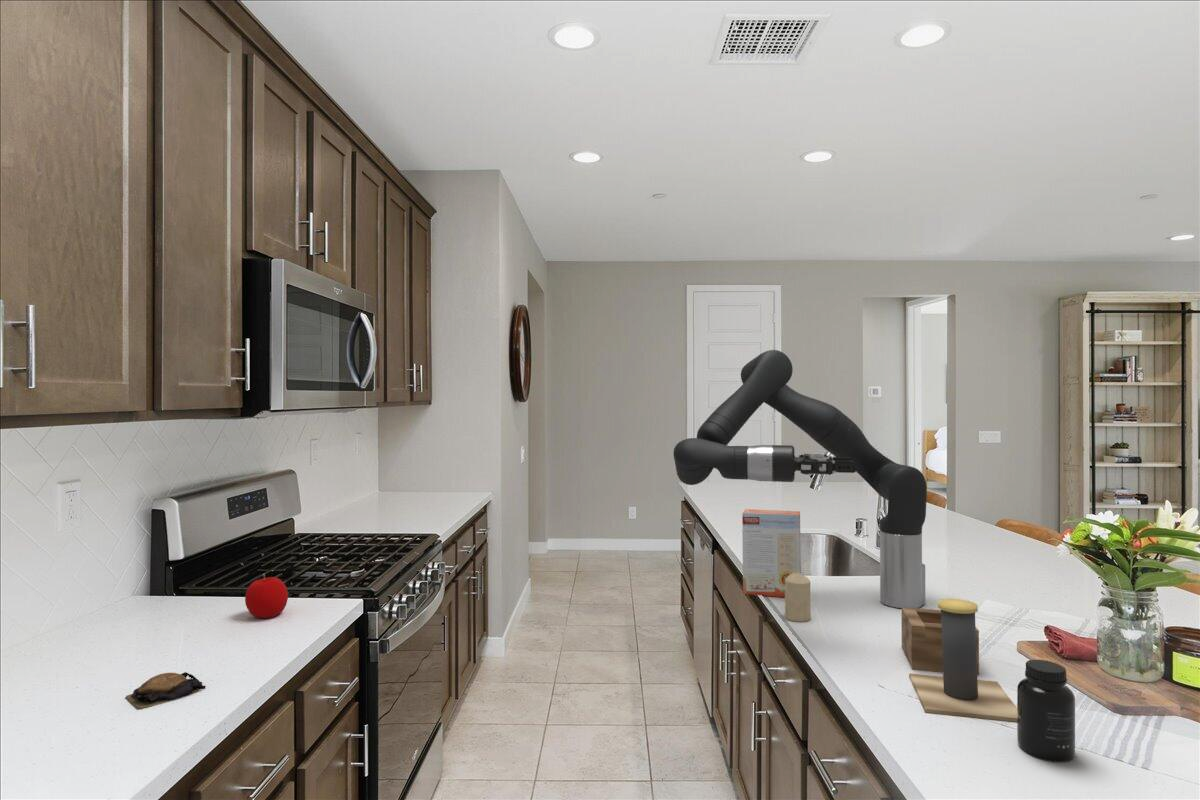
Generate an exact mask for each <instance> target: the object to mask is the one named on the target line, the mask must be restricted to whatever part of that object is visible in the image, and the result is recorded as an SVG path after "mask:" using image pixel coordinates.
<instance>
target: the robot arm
mask: <svg viewBox="0 0 1200 800" xmlns="http://www.w3.org/2000/svg"><path fill="white" fill-rule="evenodd" d="M792 375H793V363H792V361H791V360H790V358H789V357H788V355H787V354H785V353H784V352H782V351H780V350H777V349H770V350H769V349H768V350H765V351H764V352H762V353H760V354H759V355H757V356H756V357H754V358H752V359H751V360H750V361H749V362H747V363H746V364H745V365H743V367H742V368H741V371H740V380H741V383H742V385H740V387H739V388H738V389H737V390H736V391H734V393H732V394H731V395H730V396H729V397H728V398H727V399H725V400H724V401H723V402H722V403H721V404H720V405H719V406H718V407H716V409H714V411H713V412H712V413H711V414H710V415H709V416H708V417H707V419H705V421H704V422H703V423H702V424H701V426H699V428H698V430H697V432H696V437H691V438H690V437H689V438H685V439H682V440H680V441H679V442H678V443H677V444H676V445H674V448H673V460H674V464H675V472H676V475H677V478H678V479H679V480H680V481H681V483H682V484H685V485H689V486H695V485H699V484H700V483H701V484H702V482H705V480H706V479H708V477H709V476H710V475H711V473H712V472H713V470H714V469H715V470H717V471H718V472H719V473H720V475H721V477H723V478H724V479H727V480H746V481H747V480H749V481H756V482H777V483H778V482H779V483H783V482H784V483H785V482H786V483H793V482H794V481H795V478H796V477H795V475H796V472H800V474H802V475H809V476H810V475H818V476H819V475H821V476H822V475H827V476H831V475H833V474H836V473H844V474H846V473H847V474H854V473H857V474H858V475H859V476H860V477H861V478H862V479H863V480H864V481H865V482H866V483H867V484H868V485H869V486H870V487H871V488H872V489H873V490H874V491H875V492H876V493H877V494H878V495H879V496H880V497H881V498H883V499H884V500H887V501H888V504H887V513H886V515H885V516H884V517H882V518H881V519H880V521H879V575H880V576H879V593H880V594H879V599H880V600H879V601H880V602H881V604H883V605H886V606H888V607H891V608H898V609H902V607H906V608H921V607H922V606H923V605H926V564H925V563H923V526H924V523H925V521H926V515H927V496H928V490H927V489H928V488H927V487H928V486H927V482H926V481H927V480H926V478H925V476H924V474H923V473H922V471H921V470H919V469H918V468H917V467H914V466H910V465H905V464H900V463H897V462H895V461H893V460H892V459H890V458H888V456H885V455H884V454H883V453H881V452H880V451H878V450H877V448H875V447H874V446H872V444H871V443H870V441H869V440H868V438H867V437H866V436H865V434H864V433H863V431H862V430H861V428H860V427H859V426H858V425H857V424H856V423H855V422H854V421H853V420H852V419H851V418H850V417H848V415H846V414H845V413H843V412H842V411H841V410H840V409H838V408H837V407H835V406H834V405H832V404H829V403H827V402H825V401H822V400H820V399H816V398H813V397H810V396H807V395H805V394H802V393H800V392H798V391H796V390H794V389H793V388H792V387H790V386H789V385H788V383H789V381H790V380H791V378H792ZM763 404H765V405H768V406H769V407H770V408H772V409H774V410H775V411H777V412H778V413H780V414H781V415H782V416H783V417H785V418H786V419H788V420H789V421H790V422H791V423H792V424H793V425H795V426H796V427H797V428H799V429H800V430H802V431H803V432H804V433H806V435H808V436H809V437H810V438H811V439H812V440H813V441H814V442H816V443H817V444H819V445H820V446H821V447H822V448H823V449H824V450H826V451H827V452H828V453H830V454H831V455H827V454H819V453H817V454H814V453H803V454H800V455H798V456H796V455H795V447H794V446H793V445H790V444H787V445H784V444H783V445H779V444H776V445H775V444H770V445H769V444H757V445H729V444H730V443H731V441H732V440H733V439H734V437H736V435H737V434H738V433H739V431H740V430H741V429H742V427H744V425H745V424H746V423H747V421H748V420H749V419H750V418H751V417H752V416H753V415H754V413H755V412H756V411H757V410H758V409H759V408H760V407H761V406H762V405H763ZM832 455H833V456H832Z"/></svg>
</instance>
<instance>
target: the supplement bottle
mask: <svg viewBox="0 0 1200 800" xmlns="http://www.w3.org/2000/svg"><path fill="white" fill-rule="evenodd" d="M1024 677H1026V678H1022V679H1021V680H1020V681H1019V682H1018V684H1017V688H1016V689H1017V690H1016V692H1017V693H1016V694H1017V697H1016V698H1017V699H1016V701H1017V703H1016V707H1017V722H1016V723H1017V724H1016V725H1017V727H1016V730H1017V733H1016V734H1017V736H1016V737H1017V743H1018V745H1019V747H1020V748H1021V749H1022V750H1023V751H1025V753H1028V754H1029V755H1031V756H1033V757H1035V758H1038V759H1039V760H1040V759H1041V760H1045V761H1048V762H1056V763H1061V762H1062V763H1063V762H1068V761H1071V760H1072V759H1074V757H1075V755H1076V754H1075V753H1076V696H1075V694H1074V692H1073V690H1071V689H1070V688H1069V686H1068V685H1067V683H1068V679H1067V669H1066V667H1065V666H1063V665H1061V664H1059V663H1057V662H1054V661H1049V660H1044V659H1030V660H1027V661H1026V662H1025V671H1024Z"/></svg>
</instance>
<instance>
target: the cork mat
mask: <svg viewBox="0 0 1200 800" xmlns="http://www.w3.org/2000/svg"><path fill="white" fill-rule="evenodd" d="M908 678H909V680H910V682H911V685H912V687H913V688H914V691H915V693H916V696H917V697H918V700H919V702H920V704H921V706H922V709H923V710H924V713H926V714H927V713H928V714H938V715H947V716H957V717H965V718H974V719H975V718H977V719H986V720H995V721H1004V722H1005V721H1006V722H1014V723H1017V705H1015V703H1014V702H1013V701H1012V699H1011V698H1010V697H1009V696H1008V695H1009V694H1007V693H1006V691H1005V690H1004V689H1003V687H1002V686H1001V685H1000V683H999V682H998V681H994V680H985V679H977V681H978V698H977V699H974V700H961V699H956V698H952V697H950V696H948V695H946V694H945V693H944V682H943V675H942V676H941V675H940V676H939V675H931V674H929V675H928V674H921V673H920V674H919V673H908Z"/></svg>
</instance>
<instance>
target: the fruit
mask: <svg viewBox="0 0 1200 800" xmlns="http://www.w3.org/2000/svg"><path fill="white" fill-rule="evenodd" d="M265 574H266V573H263V574H262V576H263V578H260V579H257V580H254V581H253V582H251V584H250V585H249V586H248V587H247V590H246V592H245V597H244V598H245V599H244V601H245V607H246V608H247V610H248V612H249V613H250V614H251V615H252V616H253V617H254V618H259V619H271V618H274V617H276V616H278V615H280V614H281V613H282V612H283V611H284V610H285V608H286V606H287V604H288V600H289V592H288V588H287V587H286V584H285V583H284V581H282V580H281V579H279V578H278V577H275V576H269V577H266V575H265Z"/></svg>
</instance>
